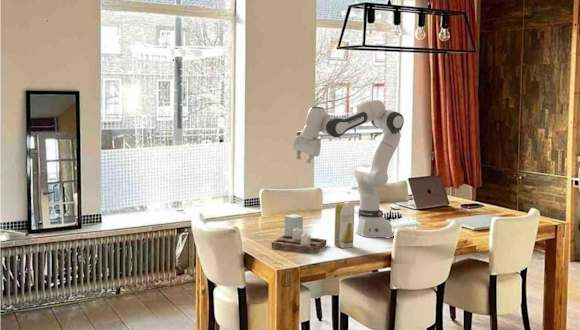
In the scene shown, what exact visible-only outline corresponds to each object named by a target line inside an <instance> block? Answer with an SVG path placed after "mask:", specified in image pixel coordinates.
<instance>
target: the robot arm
mask: <svg viewBox="0 0 580 330" xmlns="http://www.w3.org/2000/svg"><path fill="white" fill-rule="evenodd" d="M404 121H405V119H404V116H403V115H402V113H400V112H398V111H393V110H389V109H386V106H385V103H384V102H383V101H382V100H379V99H374V100H373V99H372V100H367V101H365V102H362V103H358V104H356V105H355V106H354V107H353V108H352V115H351V116H347V117H345V118H340V117H339V118H338V117H334V116H331V115H330V114H328V112H327V111H326V109H325V108H324V107H321V106H311V107H310V108H309V110H308V111H307V115H306V118H305V124H304V126H303V128H302V129H303V130H300V131H296V133H295V139H294V142H293V147H292V148H293V150H296V160H298V161H300V160H302V159H301V158H302V156H301V154H302V153H304V154H306V155H308V158H307V159H306V164H311V161H312V160H313V159H314V157H319V156H320V153H321V147H322V144H321V143H322V141H321V139H320V138H319V135H320V133H321V134H326V135H327V136H328V135H329V136H331V137H334V138H340V137H342V136H343V135H344V134H346V133H347V132H348V131H350V130H352V129H354V128H356V127H359V126H361V125H364V124H367V123H369V122H371V124H372V125H373V127H375V128H377V129H381V130H382V133H381V135H380V137H379V139H378V141H377V142H376V144H375V146H374V148H373V149H372V152H371V156H372V159H371V164H370V165H369V164H359V165H357V167H356V168H355V169H354V172H353V176H354V178H355V180H356V183H357V186H358V190H359V208H358V214H357V215H358V222H357V228H356V231H355V233H356V234H357V235H359V236H361V237H363V236H364V238H376V237H393V235H394V232H395V231H393V227H392V224H391V222H390V221H389V220H387V219H386V218H385V217H384V216H383V215H384V214H383V212H384V210H381V209H380V194H379V192H378V189H377V188H380V187H385V185H386V184H387V183H388V180H389V176H388V168H389V164H390V161H391V160H392V158H393V155H394V154H395V152H396V150H397V147H398V146H399V143H400V140H401V137H402V133H401V131H402V129H403V127H404ZM393 238H394V237H393Z"/></svg>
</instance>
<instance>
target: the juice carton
mask: <svg viewBox="0 0 580 330" xmlns="http://www.w3.org/2000/svg"><path fill="white" fill-rule="evenodd" d="M334 209H335V210H334V211H335V212H334V236H333V237H334V242H333V243H334V246H335V247H337V248H340V249H345V248H351V246H352V247H354V239H355V238H354V235H355V234H354V233H355V232H354V231H355V230H354V229H355V204H354V203H351V202H350V201H344V202H342V203H335V208H334Z"/></svg>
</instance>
